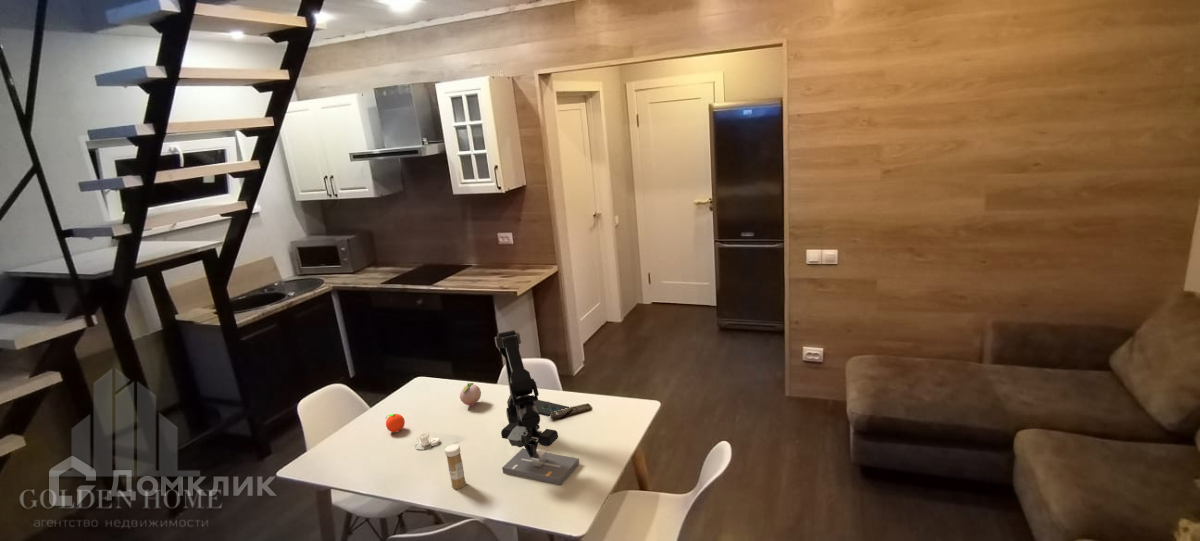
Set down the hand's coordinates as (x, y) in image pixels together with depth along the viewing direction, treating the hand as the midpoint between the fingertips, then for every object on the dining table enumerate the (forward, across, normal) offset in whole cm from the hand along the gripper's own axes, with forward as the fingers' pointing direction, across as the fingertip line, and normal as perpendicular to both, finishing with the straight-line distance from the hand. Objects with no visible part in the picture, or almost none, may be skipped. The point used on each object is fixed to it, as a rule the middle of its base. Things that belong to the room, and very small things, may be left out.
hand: (532, 457), depth 189 cm
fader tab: (+1, +3, 0) cm, 3 cm away
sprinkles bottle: (+4, -18, -16) cm, 25 cm away
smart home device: (+4, -18, +36) cm, 40 cm away
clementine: (+4, -67, +5) cm, 68 cm away
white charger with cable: (+4, -45, -1) cm, 45 cm away
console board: (+4, +3, 0) cm, 5 cm away
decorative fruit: (+4, -50, +31) cm, 59 cm away
